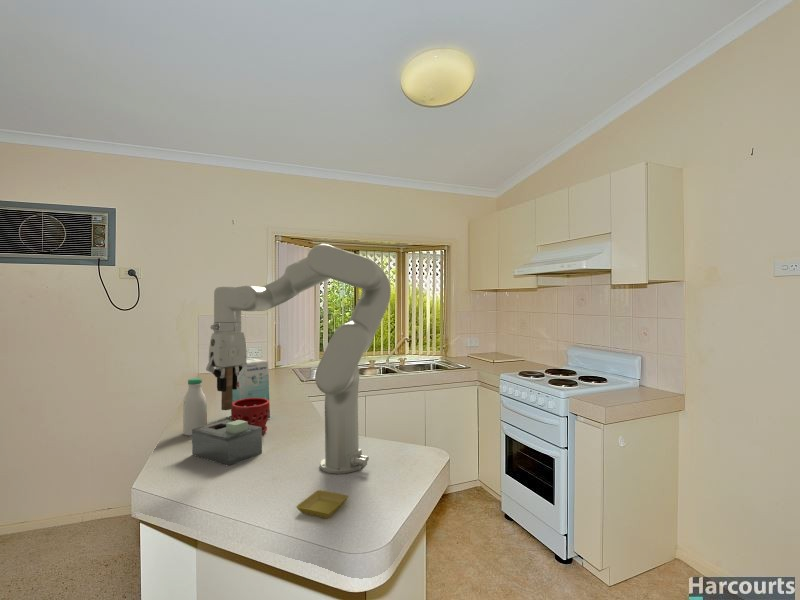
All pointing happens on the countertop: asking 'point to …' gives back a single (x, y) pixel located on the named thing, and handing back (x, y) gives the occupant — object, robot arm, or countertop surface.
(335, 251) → the robot arm
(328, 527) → the countertop surface
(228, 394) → the stylus dowel
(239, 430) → the on button
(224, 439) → the grey box
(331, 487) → the countertop surface
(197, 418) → the milk bottle
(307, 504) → the olive square dish
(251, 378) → the toothbrush box
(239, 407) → the plant pot
